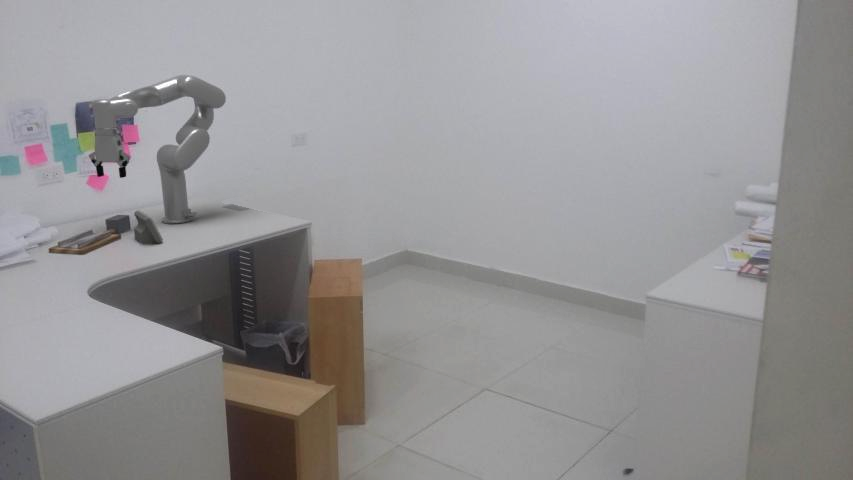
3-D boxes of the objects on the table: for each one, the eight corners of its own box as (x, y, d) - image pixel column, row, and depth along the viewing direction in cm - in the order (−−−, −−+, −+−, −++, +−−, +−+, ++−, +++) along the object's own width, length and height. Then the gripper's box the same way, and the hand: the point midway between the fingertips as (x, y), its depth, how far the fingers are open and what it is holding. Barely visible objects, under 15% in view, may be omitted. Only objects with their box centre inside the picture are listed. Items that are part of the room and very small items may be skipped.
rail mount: (121, 238, 280) (120, 229, 279) (83, 254, 259) (82, 245, 258) (88, 236, 283) (87, 228, 282) (49, 252, 262) (47, 243, 261)
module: (131, 229, 293) (129, 215, 291) (117, 235, 285) (115, 220, 283) (119, 229, 294) (118, 214, 292) (106, 234, 286) (104, 219, 284)
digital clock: (163, 244, 272) (160, 216, 269) (137, 247, 268) (134, 218, 265) (159, 234, 286) (156, 207, 283) (134, 236, 282) (131, 209, 279)
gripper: (132, 131, 281) (137, 175, 285) (93, 130, 284) (98, 174, 289) (121, 134, 274) (126, 179, 278) (80, 133, 277) (85, 177, 282)
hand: (111, 176), depth 284 cm, fingers open, 9 cm apart
